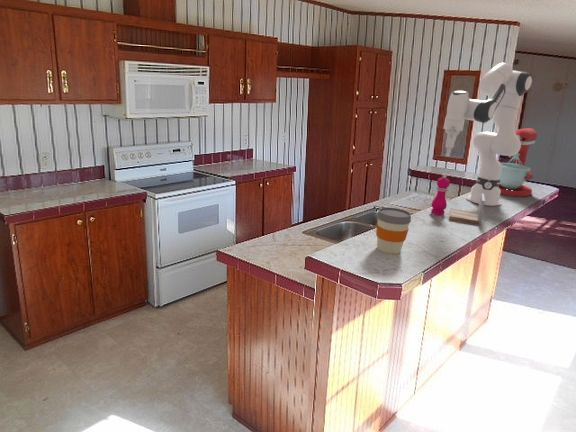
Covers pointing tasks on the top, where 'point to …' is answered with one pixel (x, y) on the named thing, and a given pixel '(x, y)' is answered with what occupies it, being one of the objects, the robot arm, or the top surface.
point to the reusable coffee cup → (392, 229)
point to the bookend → (468, 214)
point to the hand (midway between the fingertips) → (448, 155)
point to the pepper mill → (440, 196)
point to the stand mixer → (518, 167)
